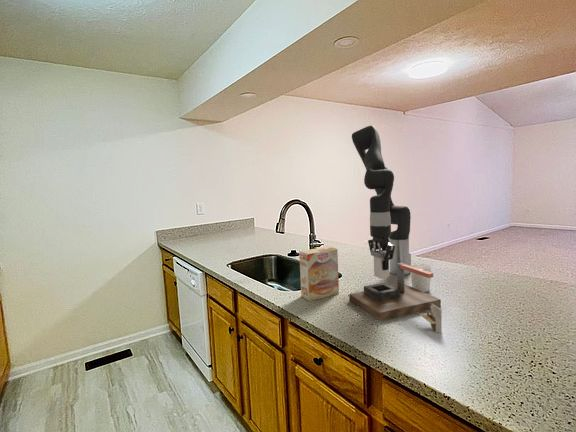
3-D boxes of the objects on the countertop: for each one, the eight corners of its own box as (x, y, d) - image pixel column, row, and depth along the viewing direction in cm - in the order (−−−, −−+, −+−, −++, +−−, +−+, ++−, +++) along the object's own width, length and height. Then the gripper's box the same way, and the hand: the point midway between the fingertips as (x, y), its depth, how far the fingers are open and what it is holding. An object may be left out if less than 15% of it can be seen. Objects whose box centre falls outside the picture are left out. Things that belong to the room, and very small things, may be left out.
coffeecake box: (309, 301, 131) (307, 254, 129) (300, 296, 138) (298, 250, 136) (339, 293, 138) (338, 248, 136) (330, 289, 145) (328, 245, 142)
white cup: (431, 287, 140) (431, 264, 139) (430, 293, 133) (430, 269, 132) (411, 285, 143) (411, 263, 142) (410, 291, 136) (409, 268, 135)
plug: (383, 273, 128) (382, 249, 127) (392, 276, 123) (391, 252, 122) (371, 275, 126) (370, 251, 125) (380, 279, 121) (379, 254, 120)
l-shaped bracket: (396, 290, 129) (395, 263, 128) (401, 289, 130) (400, 262, 129) (428, 304, 113) (428, 274, 112) (434, 303, 114) (434, 273, 113)
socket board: (404, 290, 138) (403, 276, 137) (440, 307, 119) (440, 291, 118) (349, 301, 129) (348, 286, 128) (379, 321, 110) (379, 304, 110)
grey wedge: (431, 334, 100) (431, 311, 100) (420, 324, 107) (419, 302, 106) (441, 333, 101) (441, 310, 100) (430, 323, 108) (430, 301, 107)
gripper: (361, 222, 128) (362, 265, 130) (383, 227, 114) (384, 274, 116) (377, 220, 130) (378, 262, 132) (401, 224, 117) (402, 271, 119)
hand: (381, 268), depth 124 cm, fingers closed on plug, 4 cm apart
